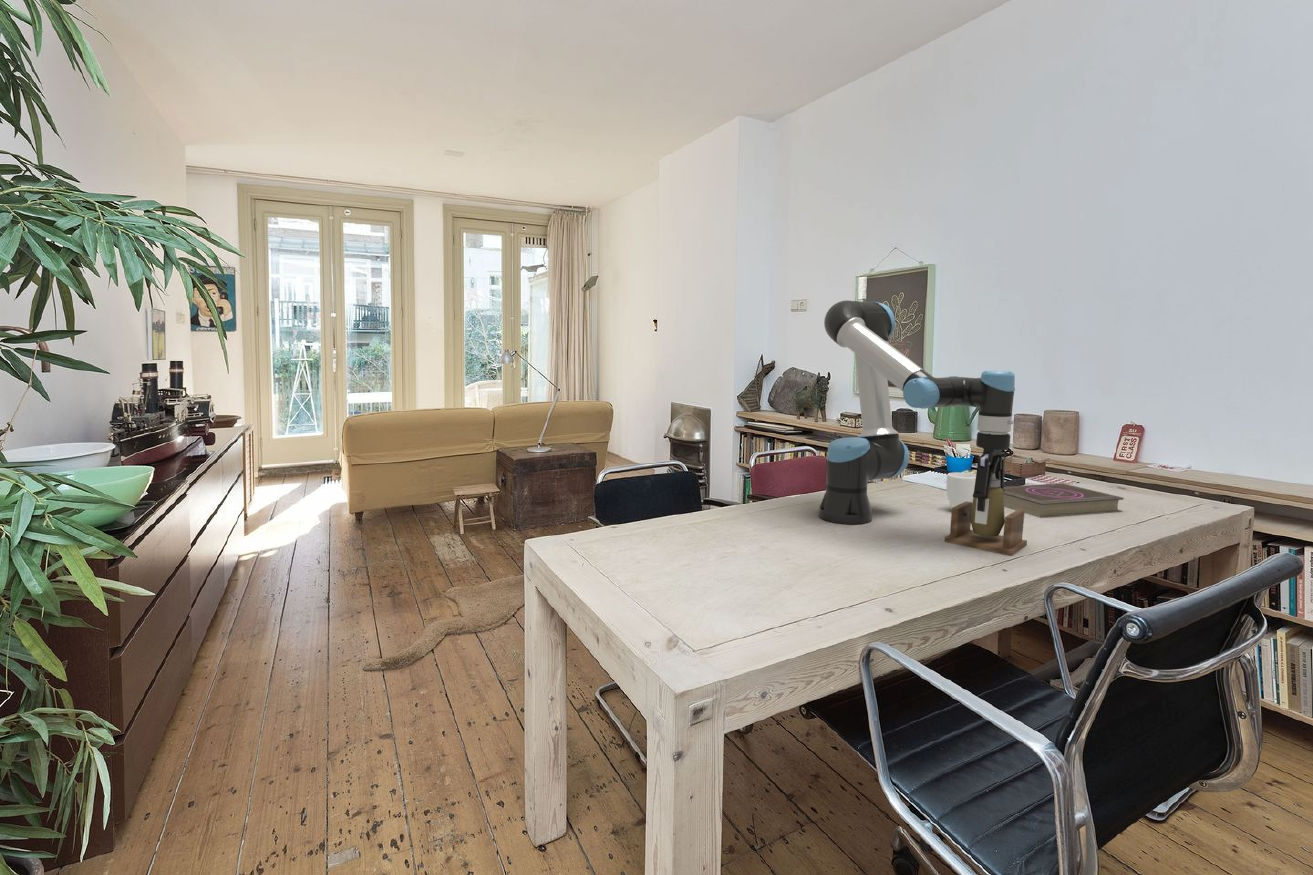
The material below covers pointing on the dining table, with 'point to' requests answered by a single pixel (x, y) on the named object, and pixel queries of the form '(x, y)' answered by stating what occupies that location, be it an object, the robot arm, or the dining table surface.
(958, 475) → the mug
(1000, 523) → the squeeze bottle
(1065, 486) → the book
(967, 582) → the dining table surface
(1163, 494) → the dining table surface
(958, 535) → the holder
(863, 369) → the robot arm
